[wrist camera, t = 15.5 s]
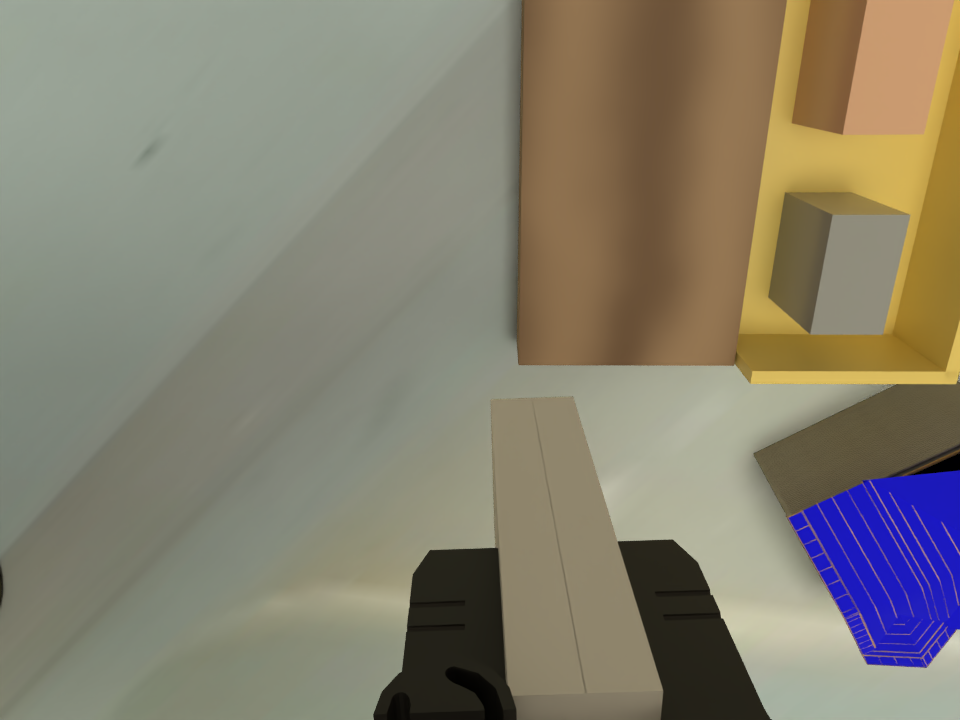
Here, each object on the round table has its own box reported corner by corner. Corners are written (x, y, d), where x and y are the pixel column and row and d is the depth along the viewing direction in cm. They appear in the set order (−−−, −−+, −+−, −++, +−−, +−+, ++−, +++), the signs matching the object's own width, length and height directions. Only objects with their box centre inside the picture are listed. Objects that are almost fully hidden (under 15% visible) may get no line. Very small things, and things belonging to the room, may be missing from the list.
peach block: (842, 134, 27) (923, 134, 27) (870, -16, 25) (958, -17, 25) (791, 123, 31) (860, 122, 31) (811, -5, 29) (885, -6, 29)
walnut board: (516, 341, 36) (518, 365, 33) (522, -70, 29) (525, -83, 26) (715, 341, 36) (734, 365, 33) (770, -73, 29) (799, -87, 26)
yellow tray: (717, 341, 36) (750, 383, 31) (772, -73, 29) (825, -98, 24) (896, 342, 36) (956, 384, 31) (996, -75, 29) (1092, -101, 24)
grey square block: (810, 334, 30) (882, 334, 30) (832, 214, 28) (910, 214, 28) (768, 297, 34) (830, 297, 34) (784, 192, 32) (851, 192, 32)
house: (818, 585, 42) (886, 696, 35) (744, 450, 38) (802, 542, 31) (1000, 507, 40) (1113, 609, 32) (938, 356, 36) (1050, 431, 29)
